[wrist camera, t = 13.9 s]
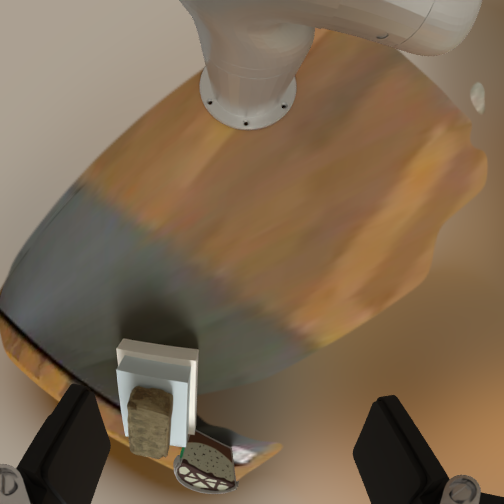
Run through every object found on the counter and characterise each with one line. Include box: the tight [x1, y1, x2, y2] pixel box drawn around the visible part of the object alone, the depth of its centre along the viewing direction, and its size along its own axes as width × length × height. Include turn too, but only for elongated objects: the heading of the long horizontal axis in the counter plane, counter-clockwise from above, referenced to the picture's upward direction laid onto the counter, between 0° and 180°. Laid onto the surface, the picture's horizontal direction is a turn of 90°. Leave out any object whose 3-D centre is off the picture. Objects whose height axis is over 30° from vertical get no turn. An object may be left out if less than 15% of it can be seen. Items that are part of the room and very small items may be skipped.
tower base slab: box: [116, 338, 199, 435], centre depth 43 cm, size 16×12×4 cm
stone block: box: [127, 386, 173, 459], centre depth 35 cm, size 6×12×5 cm, turn 170°
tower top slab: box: [116, 355, 191, 447], centre depth 39 cm, size 14×10×4 cm
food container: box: [174, 429, 239, 494], centre depth 43 cm, size 12×6×10 cm, turn 49°
